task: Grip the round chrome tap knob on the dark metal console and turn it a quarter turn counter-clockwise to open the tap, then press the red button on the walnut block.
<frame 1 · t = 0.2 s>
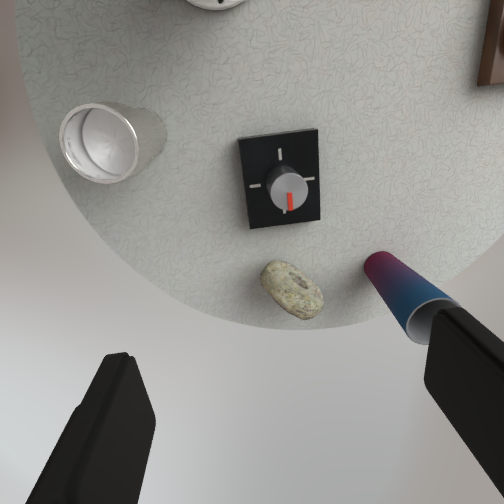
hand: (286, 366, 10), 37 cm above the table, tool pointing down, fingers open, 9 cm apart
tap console: (279, 178, 44), on the table
beer glass: (143, 133, 41), on the table
tap knob: (285, 187, 39), point 5 cm above the table, hinge at 0.0°
cup: (378, 264, 51), on the table
stone ring: (286, 271, 50), on the table
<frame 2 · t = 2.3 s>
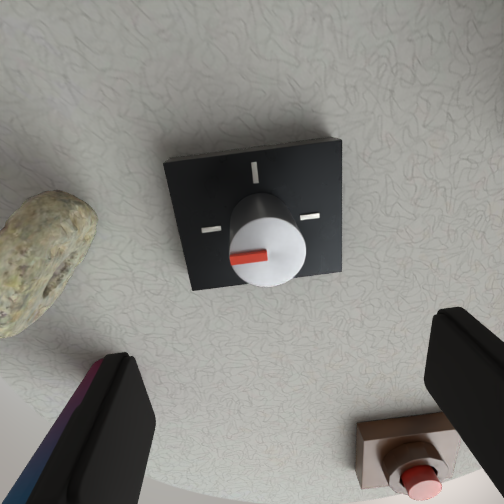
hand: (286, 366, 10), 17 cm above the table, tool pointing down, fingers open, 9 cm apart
button block: (400, 442, 38), on the table
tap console: (258, 212, 25), on the table
tap knob: (263, 237, 20), point 5 cm above the table, hinge at 0.0°
cup: (116, 374, 32), on the table
stone ring: (73, 235, 25), on the table
start button: (420, 481, 34), point 4 cm above the table, slide at 0.1 cm
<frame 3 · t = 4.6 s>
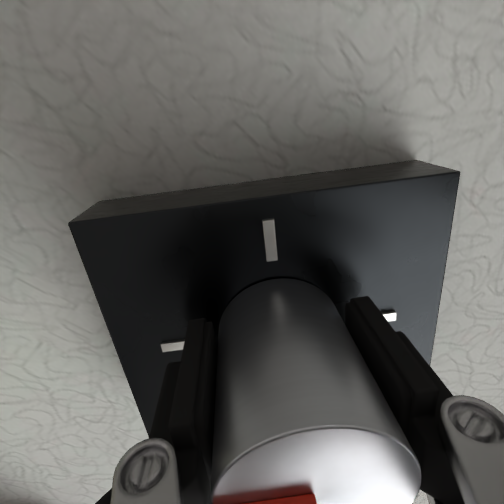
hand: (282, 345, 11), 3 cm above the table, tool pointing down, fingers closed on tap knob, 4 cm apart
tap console: (270, 293, 14), on the table
tap knob: (293, 396, 9), point 5 cm above the table, hinge at -0.1°, touching gripper
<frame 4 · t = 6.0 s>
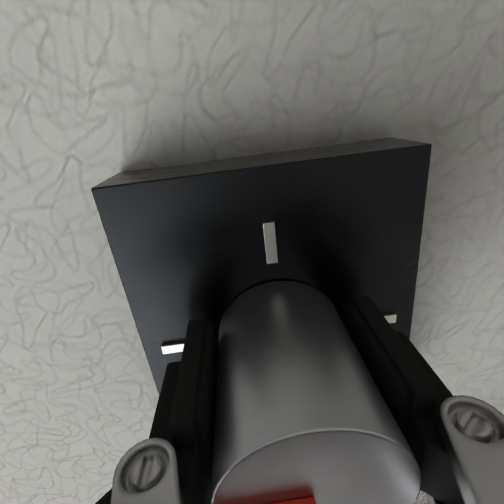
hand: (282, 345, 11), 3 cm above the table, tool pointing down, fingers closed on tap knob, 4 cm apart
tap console: (270, 295, 14), on the table
tap knob: (294, 398, 9), point 5 cm above the table, hinge at 91.5°, touching gripper
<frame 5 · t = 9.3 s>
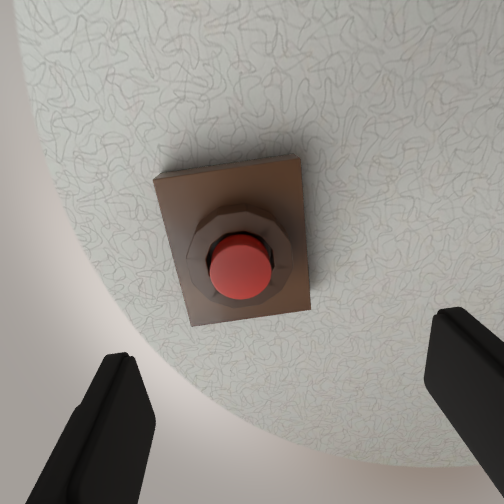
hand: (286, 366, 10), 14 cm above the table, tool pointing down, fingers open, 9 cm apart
button block: (239, 239, 23), on the table
start button: (240, 266, 19), point 4 cm above the table, slide at 0.1 cm
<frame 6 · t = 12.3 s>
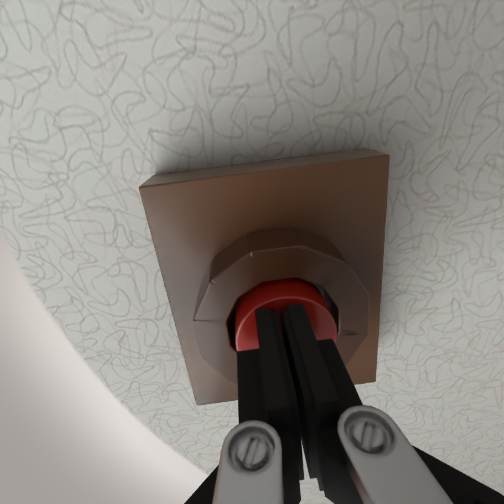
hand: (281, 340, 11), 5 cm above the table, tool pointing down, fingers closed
button block: (271, 276, 15), on the table
start button: (283, 325, 12), point 4 cm above the table, slide at -0.5 cm, touching gripper
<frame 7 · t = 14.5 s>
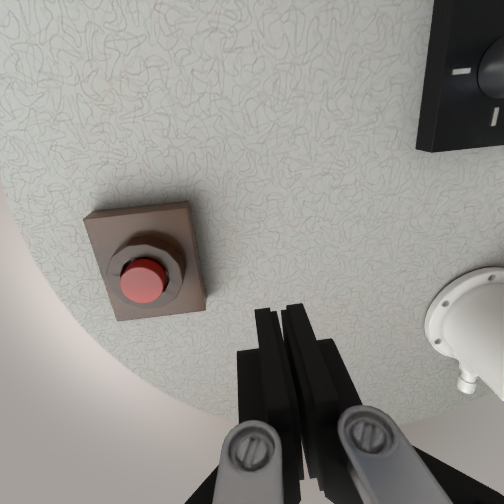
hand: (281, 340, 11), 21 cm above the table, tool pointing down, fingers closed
button block: (153, 258, 32), on the table
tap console: (481, 70, 27), on the table
start button: (143, 280, 28), point 4 cm above the table, slide at 0.1 cm
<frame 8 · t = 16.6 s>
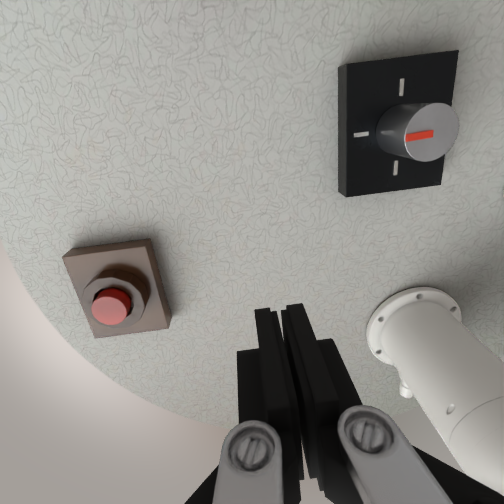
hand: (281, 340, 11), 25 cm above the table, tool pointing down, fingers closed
button block: (124, 285, 38), on the table
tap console: (386, 128, 32), on the table
tap knob: (414, 131, 27), point 5 cm above the table, hinge at 92.3°
start button: (111, 306, 34), point 4 cm above the table, slide at 0.1 cm
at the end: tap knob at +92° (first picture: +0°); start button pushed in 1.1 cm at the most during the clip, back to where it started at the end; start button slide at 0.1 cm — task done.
